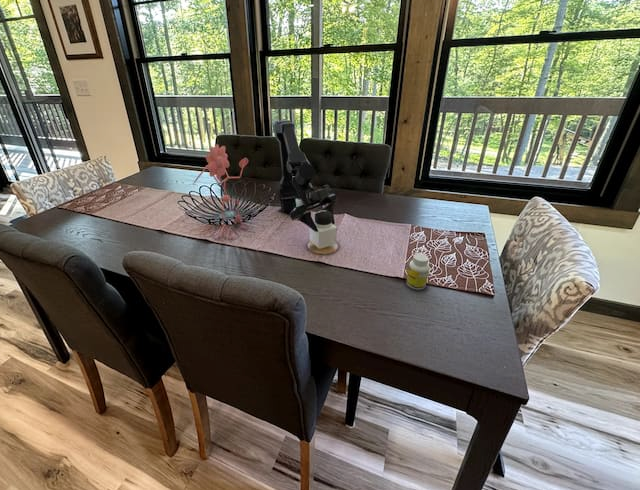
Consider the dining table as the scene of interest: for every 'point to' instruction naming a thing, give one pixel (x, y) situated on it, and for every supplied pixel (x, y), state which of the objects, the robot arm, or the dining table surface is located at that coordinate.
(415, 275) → the supplement bottle
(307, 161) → the robot arm
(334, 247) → the coaster
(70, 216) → the dining table surface
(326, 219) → the medicine bottle
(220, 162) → the figurine
